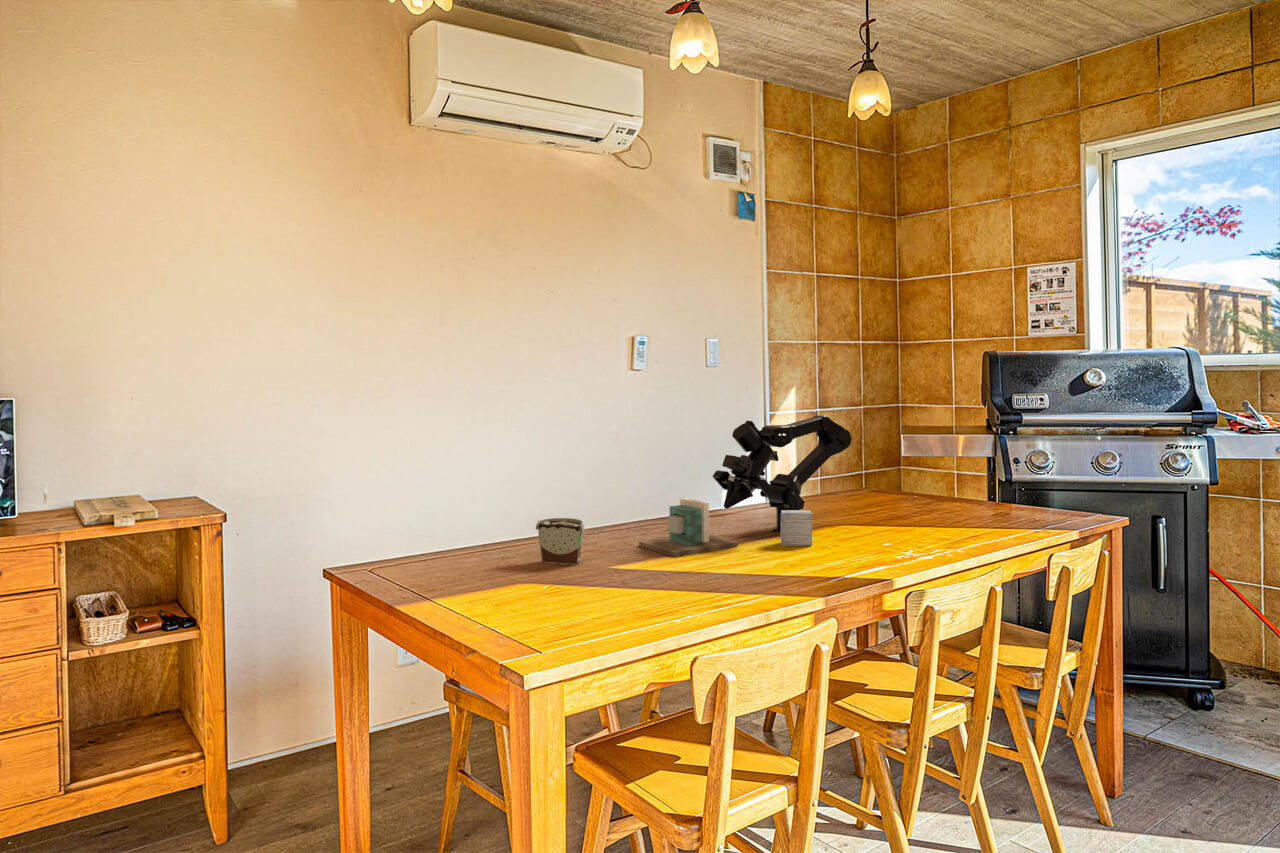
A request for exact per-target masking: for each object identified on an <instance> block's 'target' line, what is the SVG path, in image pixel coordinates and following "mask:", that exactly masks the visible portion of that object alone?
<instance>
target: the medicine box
mask: <svg viewBox="0 0 1280 853" xmlns="http://www.w3.org/2000/svg"><path fill="white" fill-rule="evenodd" d="M780 544H781V546H782V547H783V546H785V547H786V546H787V547H789V546H791V547H792V546H794V547H797V546H798V547H799V546H801V547H803V546H805V547H806V546H807V547H811V546H813V513H812V511H811V510H807V509H806V510H805V509H804V510H803V509H801V510H781V531H780Z"/></svg>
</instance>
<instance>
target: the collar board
mask: <svg viewBox="0 0 1280 853" xmlns="http://www.w3.org/2000/svg"><path fill="white" fill-rule="evenodd" d="M672 515H682V516H685V533H680V534H676V533H672V532H669V536H666V537H660V538H659V537H658V538H652V539H646V540H640V541H638V546H639V547H641V548H644V547H645V548H644V549H647V548H648V549H647V550H650V549H651V550H652V551H654V550H655V551H654V552H657V551H658V553H660V552H661V554H664V553H665V554H664V555H667V554H668V556H670V555H672V556H671V557H673V556H675V557H674V558H679V557H678V556H681V557H685V556H684V555H687V556H691V555H690V554H692V555H697V554H696V553H698V554H702V552H704V553H709V552H708V551H710V552H714V551H713V550H715V551H720V550H719V549H721V550H726V549H725V548H727V549H731V548H730V547H732V548H737V547H736V546H738V547H739V541H736V540H734V539H733V540H732V539H728V538H723V537H720V536H716V535H711V534H709V542H701V509H698V508H694V507H689V506H685V505H680V504H678V505H670V506H669V516H672Z"/></svg>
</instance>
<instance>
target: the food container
mask: <svg viewBox="0 0 1280 853" xmlns="http://www.w3.org/2000/svg"><path fill="white" fill-rule="evenodd" d="M535 530H537V531H538V540H539V548H540V549H539V550H540V555H541V556H540V558H541V563H542V562H549V563H548V564H555V563H560V565H568V564H572V565H573V566H578V564H579V565H580V561H581V548H582V537H583V533H584V532H585V531H586V528H585V525H584V522H583V521H582V519H577V518H568V517H555V518H545V519H540V520H537V523H536V525H535ZM572 565H571V566H572Z"/></svg>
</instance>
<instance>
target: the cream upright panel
mask: <svg viewBox="0 0 1280 853" xmlns="http://www.w3.org/2000/svg"><path fill="white" fill-rule="evenodd" d="M679 505H685V506H689V507H694V508H698V509H701V542H709V535H710V527H709V525H710V522H709V521H710V517H709V516H710V514H709V511H710V508H709V506H710V502H705V501H701V500H696V499H691V498H685V497H682V498H680V499H679ZM667 532H669V533H670V532H672V533H676V534H680V533H685V516H682V515H672V516H670V515H668V516H667Z"/></svg>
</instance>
